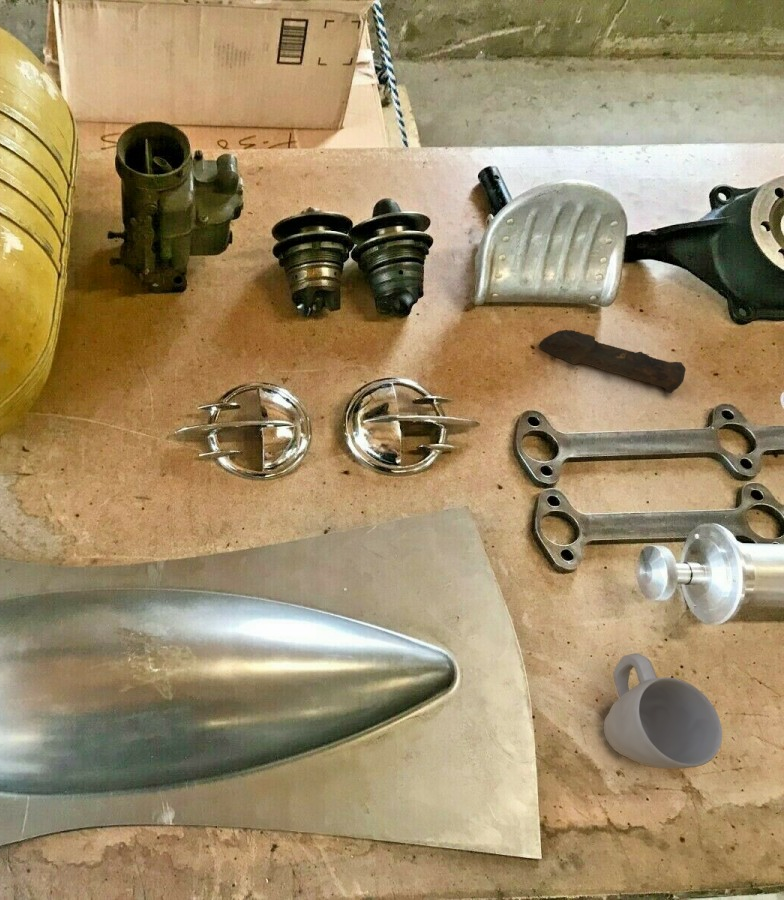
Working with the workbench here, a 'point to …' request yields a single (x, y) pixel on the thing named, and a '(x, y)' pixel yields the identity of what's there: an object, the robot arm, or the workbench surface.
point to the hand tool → (613, 359)
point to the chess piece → (782, 399)
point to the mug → (661, 719)
